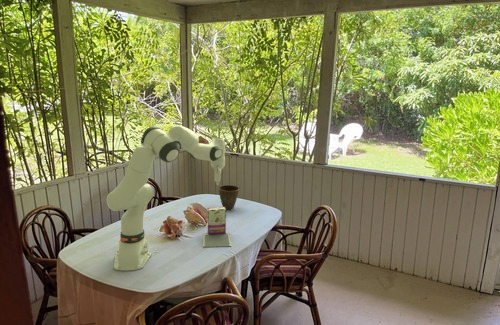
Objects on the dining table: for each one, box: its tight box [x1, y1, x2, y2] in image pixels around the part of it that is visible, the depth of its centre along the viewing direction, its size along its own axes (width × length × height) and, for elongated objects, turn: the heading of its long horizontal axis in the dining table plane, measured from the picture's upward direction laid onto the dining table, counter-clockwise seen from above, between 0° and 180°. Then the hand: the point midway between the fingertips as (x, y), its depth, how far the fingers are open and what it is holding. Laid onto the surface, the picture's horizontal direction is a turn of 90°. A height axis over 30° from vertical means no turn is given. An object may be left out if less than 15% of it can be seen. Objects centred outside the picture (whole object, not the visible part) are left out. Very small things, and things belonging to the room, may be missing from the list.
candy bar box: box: [206, 206, 227, 235], centre depth 218 cm, size 11×5×16 cm, turn 103°
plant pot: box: [218, 184, 240, 211], centre depth 261 cm, size 15×15×16 cm
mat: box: [202, 233, 232, 248], centre depth 209 cm, size 16×16×1 cm
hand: (217, 184), depth 219 cm, fingers closed
